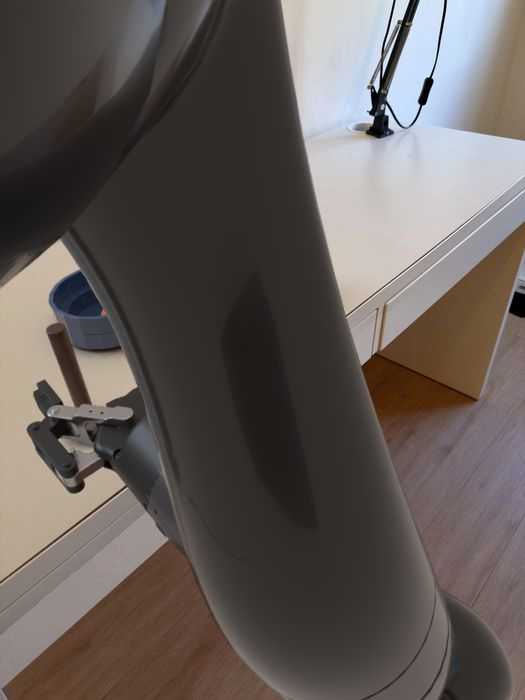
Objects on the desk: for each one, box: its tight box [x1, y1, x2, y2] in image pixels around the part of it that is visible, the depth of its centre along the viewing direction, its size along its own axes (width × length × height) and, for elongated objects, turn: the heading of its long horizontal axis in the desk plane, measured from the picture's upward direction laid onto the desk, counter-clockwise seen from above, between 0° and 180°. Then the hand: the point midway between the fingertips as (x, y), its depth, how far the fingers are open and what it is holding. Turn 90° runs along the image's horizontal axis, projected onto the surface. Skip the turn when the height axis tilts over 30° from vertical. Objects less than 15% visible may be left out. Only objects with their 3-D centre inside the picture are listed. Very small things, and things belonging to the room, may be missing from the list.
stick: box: [45, 322, 99, 443], centre depth 54 cm, size 4×4×14 cm
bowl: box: [48, 269, 121, 350], centre depth 73 cm, size 14×14×6 cm
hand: (91, 365), depth 45 cm, fingers open, 8 cm apart
